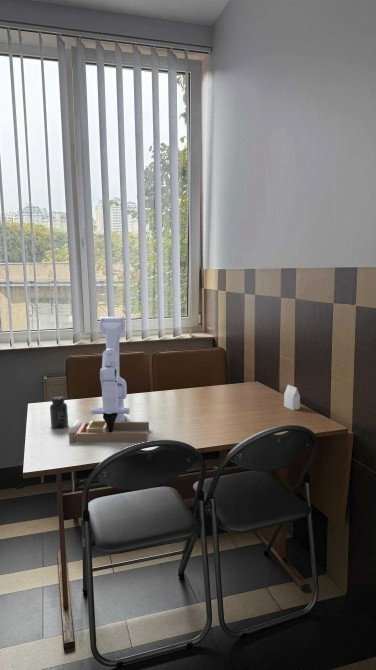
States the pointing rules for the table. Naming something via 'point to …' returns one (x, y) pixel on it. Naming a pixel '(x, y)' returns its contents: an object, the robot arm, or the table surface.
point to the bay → (110, 433)
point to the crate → (97, 427)
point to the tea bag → (291, 398)
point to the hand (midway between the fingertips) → (111, 432)
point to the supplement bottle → (58, 412)
